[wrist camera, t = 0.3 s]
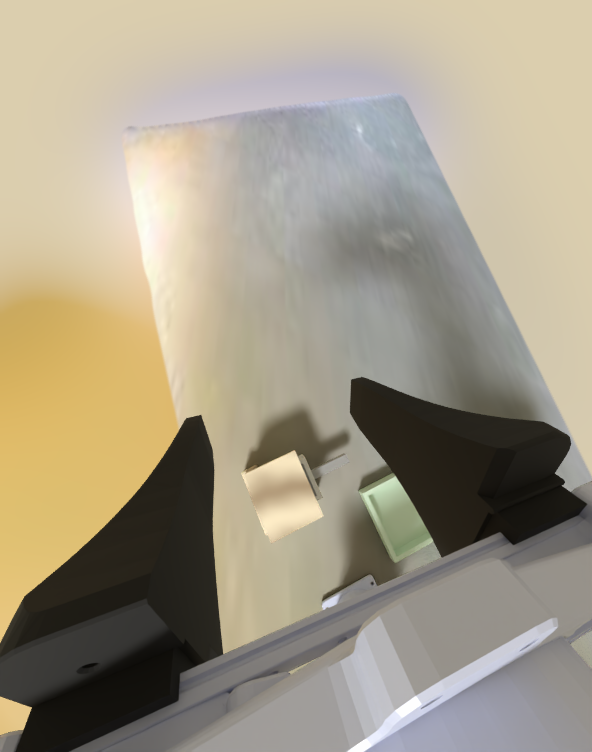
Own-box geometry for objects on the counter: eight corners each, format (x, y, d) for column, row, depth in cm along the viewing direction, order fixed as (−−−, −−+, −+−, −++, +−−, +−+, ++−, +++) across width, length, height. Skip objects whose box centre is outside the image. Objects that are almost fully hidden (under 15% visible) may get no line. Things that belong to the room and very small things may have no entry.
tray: (458, 516, 38) (468, 521, 36) (389, 556, 37) (395, 563, 35) (426, 455, 40) (433, 456, 38) (358, 490, 38) (362, 493, 36)
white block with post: (349, 472, 39) (359, 479, 34) (268, 513, 37) (266, 526, 32) (334, 438, 40) (341, 440, 35) (254, 476, 38) (249, 483, 33)
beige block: (316, 501, 38) (323, 516, 31) (267, 526, 37) (263, 547, 30) (292, 447, 39) (294, 450, 33) (244, 469, 38) (236, 477, 32)
